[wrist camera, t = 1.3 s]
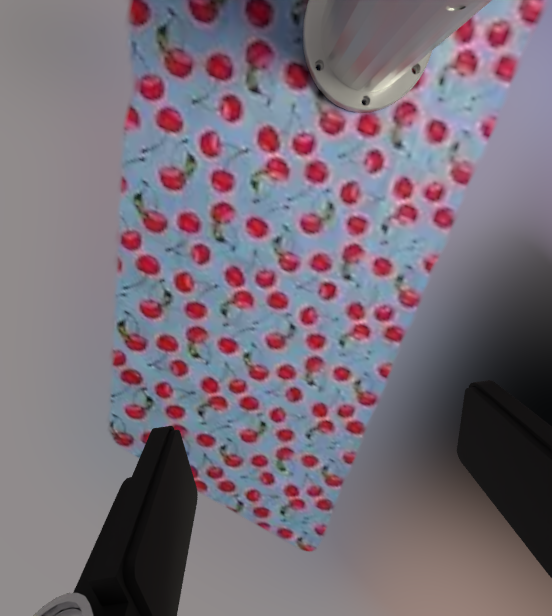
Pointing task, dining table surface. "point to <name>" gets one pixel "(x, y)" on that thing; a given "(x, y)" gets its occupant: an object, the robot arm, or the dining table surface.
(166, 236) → the dining table surface
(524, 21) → the dining table surface
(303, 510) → the dining table surface
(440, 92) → the dining table surface
